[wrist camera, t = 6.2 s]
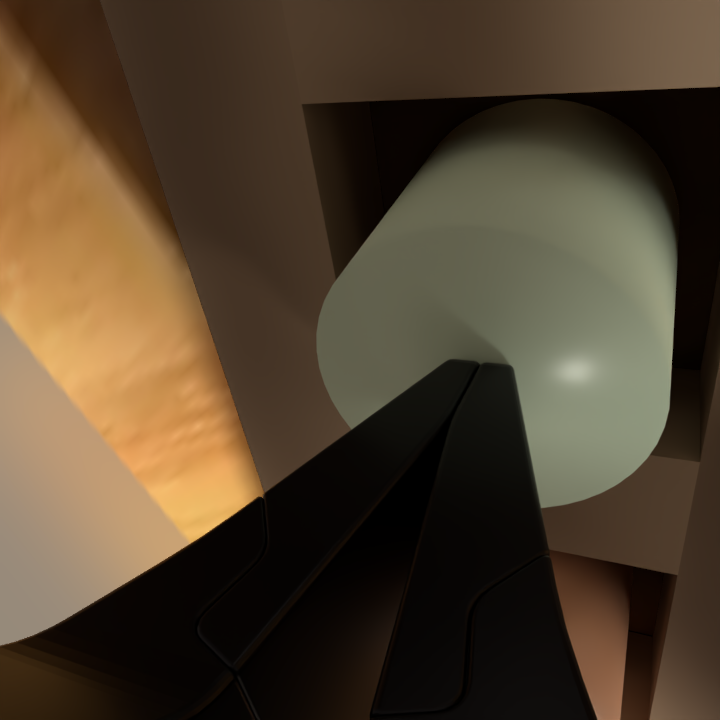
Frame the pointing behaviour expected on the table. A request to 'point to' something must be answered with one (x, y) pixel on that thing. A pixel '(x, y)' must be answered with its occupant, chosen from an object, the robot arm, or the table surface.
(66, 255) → the table surface
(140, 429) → the table surface
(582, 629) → the button rust
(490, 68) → the wooden compartment tray
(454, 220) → the button sage
